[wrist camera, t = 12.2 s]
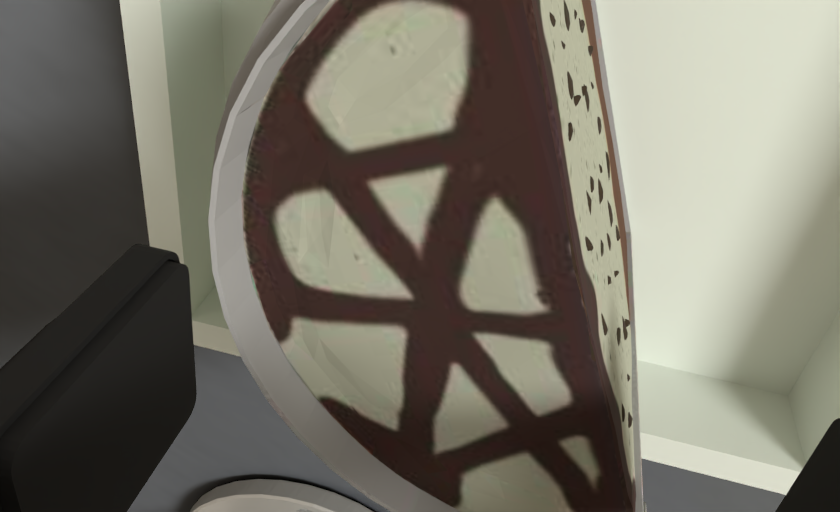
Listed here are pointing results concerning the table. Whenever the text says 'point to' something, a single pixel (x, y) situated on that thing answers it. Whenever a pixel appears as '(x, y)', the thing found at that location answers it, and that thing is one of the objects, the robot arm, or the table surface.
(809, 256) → the tray
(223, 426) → the table surface
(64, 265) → the table surface
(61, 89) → the table surface
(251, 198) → the food container
